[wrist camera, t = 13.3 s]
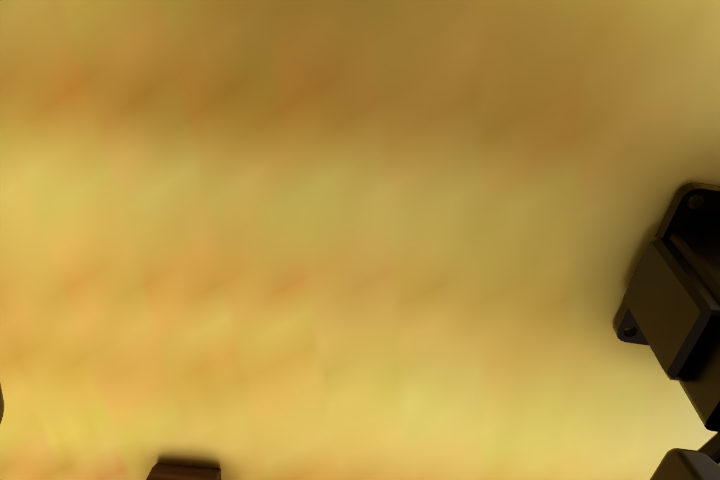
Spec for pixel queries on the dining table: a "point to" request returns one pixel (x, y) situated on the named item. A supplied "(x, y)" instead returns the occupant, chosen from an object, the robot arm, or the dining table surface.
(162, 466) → the hammer
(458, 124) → the dining table surface
